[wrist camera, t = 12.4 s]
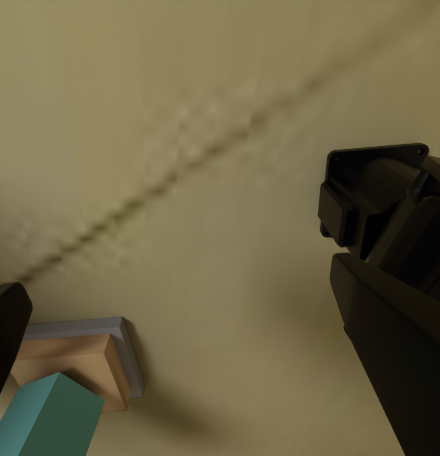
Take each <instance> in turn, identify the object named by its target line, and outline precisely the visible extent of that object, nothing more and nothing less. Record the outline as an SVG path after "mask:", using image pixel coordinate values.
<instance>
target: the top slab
mask: <svg viewBox="0 0 440 456" xmlns="http://www.w3.org/2000/svg"><path fill="white" fill-rule="evenodd" d="M58 372H60V373H62V374H64V375H65V376H67V377H68V378H70V379H72V380H73V381H75V382H76V383H78V384H79V385H81V386H83V387H84V388H86V389H87V390H89V391H91V392H92V393H94V394H95V395H97V396H99V397H100V398H102V399H103V400H105V402H104V405H103V408H102V411H101V413H104V412H116V411H126V410H127V405H128V400H129V396H130V391H131V390H130V387H129V384H128V381H127V378H126V376H125V373H124V370H123V367H122V364H121V362H120V359H119V356H118V353H117V351H116V348H115V345H114V342H113V339H112V337H111V334H110V333H108V334H97V335H85V336H73V337H62V338H50V339H39V340H27V341H22V343H21V346H20V349H19V352H18V355H17V357H16V360H15V362H14V365H13V367H12V369H11V374H12V375H13V377H14V378H15V380H16V382H17V383H18V385H19V386H22V385H25V384H28V383H31V382H33V381H36V380H39V379H42V378H45V377H47V376H50V375H53V374H56V373H58Z"/></svg>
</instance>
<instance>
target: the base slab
mask: <svg viewBox="0 0 440 456" xmlns="http://www.w3.org/2000/svg"><path fill="white" fill-rule="evenodd" d="M108 333H110V334H111V337H112V339H113V342H114V345H115V348H116V351H117V353H118V356H119V359H120V362H121V364H122V367H123V370H124V373H125V376H126V378H127V381H128V384H129V387H130V390H131V391H130V396H129V398H140V397H143V393H144V387H145V385H144V382H143V379H142V376H141V373H140V370H139V367H138V364H137V360H136V357H135V354H134V351H133V348H132V345H131V342H130V339H129V336H128V332H127V329H126V326H125V323H124V320H123V317H111V318H100V319H88V320H77V321H65V322H54V323H42V324H31V325H27V328H26V331H25V334H24V337H23V340H22V341H27V340H39V339H50V338H62V337H73V336H85V335H97V334H108Z"/></svg>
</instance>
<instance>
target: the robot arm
mask: <svg viewBox="0 0 440 456" xmlns="http://www.w3.org/2000/svg"><path fill="white" fill-rule="evenodd" d="M419 149H421V152H420V153H419V154H417V151H418V150H419ZM428 152H429V148H428V146H427V145H425V144H423V143H412V144H401V145H389V146H378V147H366V148H355V149H343V150H334V151H332V152H330V153H329V155H328V157H327V164H326V174H325V181H324V182H323V183H322V184H321V188H320V199H319V209H318V217H319V218H320V220H321V224H320V232H321V234H322V235H323V236H324V237H332V238H333V239H334V241H335V242H336V244H337V245H338V246H340V247H341V248H342V247H346V248H347V249H348V251H349V252H350V253H351V254H350V253H336V254H334V255H333V257H332V263H331V271H330V283H331V286H332V289H333V292H334V295H335V298H336V301H337V304H338V307H339V310H340V313H341V316H342V319H343V322H344V327H343V328H344V331H345V332H346V334H347V336H348V337H349V339H350V340H351V342H352V344H353V346H354V348H355V350H356V352H357V354H358V356H359V359H360V361H361V363H362V365H363V367H364V369H365V371H366V373H367V375H368V378H369V380H370V382H371V384H372V386H373V388H374V390H375V392H376V395H377V397H378V399H379V401H380V403H381V405H382V407H383V409H384V412H385V414H386V416H387V418H388V420H389V422H390V424H391V426H392V428H393V431H394V433H395V435H396V437H397V439H398V441H399V443H400V445H401V448H402V450H403V452H404V454H405V456H440V158H437V157H433V156H430V155H428ZM335 156H338V159H337V160H336V161H333V158H334V157H335ZM326 230H328V232H325V231H326ZM32 308H33V306H32V302H31V300H30V298H29V296H28V294H27V292H26V290H25V288H24V286H23V285H22V284H21V283H20V282H10V283H4V284H2V285H0V394H1V391H2V389H3V387H4V385H5V383H6V380H7V378H8V376H9V374H10V372H11V369H12V367H13V365H14V362H15V360H16V357H17V355H18V352H19V349H20V346H21V343H22V340H23V337H24V334H25V331H26V328H27V325H28V322H29V319H30V316H31V313H32Z"/></svg>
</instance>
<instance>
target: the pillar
mask: <svg viewBox="0 0 440 456" xmlns="http://www.w3.org/2000/svg"><path fill="white" fill-rule="evenodd" d="M104 402H105V400H103V399H102V398H100V397H99V396H97V395H95V394H94V393H92V392H91V391H89V390H87V389H86V388H84V387H83V386H81V385H79V384H78V383H76V382H75V381H73V380H72V379H70V378H68V377H67V376H65V375H64V374H62V373H60V372H58V373H56V374H53V375H50V376H47V377H45V378H42V379H39V380H36V381H33V382H31V383H28V384H25V385H22V386H20V388H19V390H18V391H17V393H16V395H15V397H14V398H13V400H12V402H11V403H10V405H9V407H8V409H7V410H6V412H5V414H4V416H3V417H2V419H1V421H0V456H86V453H87V451H88V448H89V445H90V442H91V439H92V436H93V433H94V431H95V428H96V425H97V422H98V419H99V416H100V413H101V411H102V408H103V405H104Z"/></svg>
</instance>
